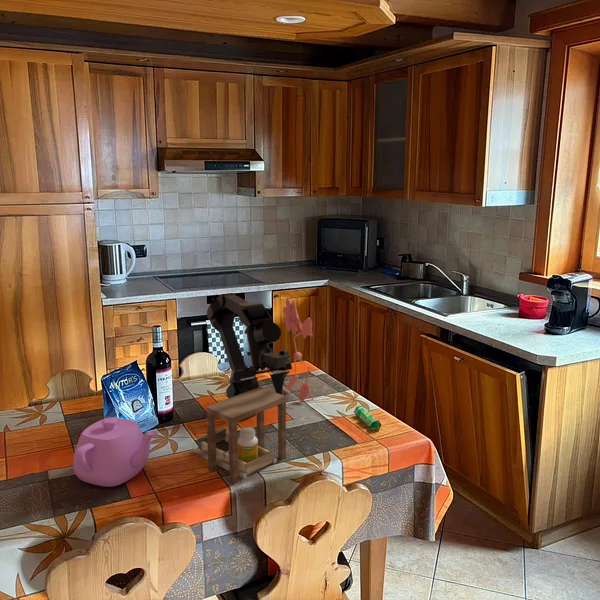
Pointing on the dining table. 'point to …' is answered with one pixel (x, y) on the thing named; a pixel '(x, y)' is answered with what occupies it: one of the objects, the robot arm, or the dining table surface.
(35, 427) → the dining table surface
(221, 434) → the wooden rack
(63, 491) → the dining table surface
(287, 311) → the figurine
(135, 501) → the dining table surface
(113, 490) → the dining table surface
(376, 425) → the candy
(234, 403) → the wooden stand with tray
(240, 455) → the supplement bottle
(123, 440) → the teapot
